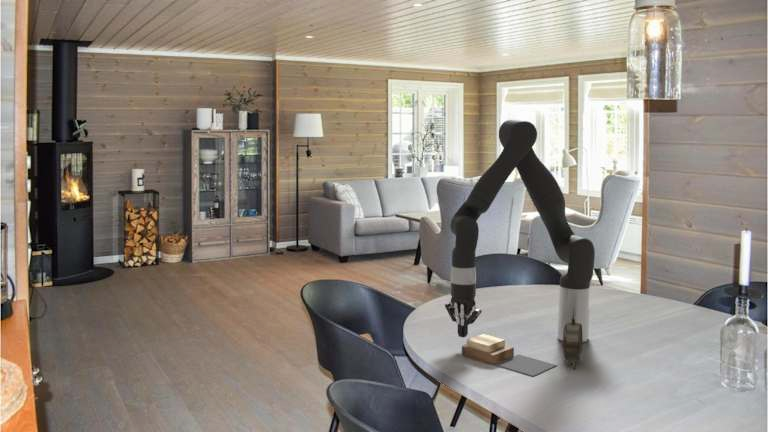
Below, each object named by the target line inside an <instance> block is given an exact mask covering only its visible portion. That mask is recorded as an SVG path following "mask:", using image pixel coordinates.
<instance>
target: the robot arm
mask: <svg viewBox="0 0 768 432" xmlns="http://www.w3.org/2000/svg"><path fill="white" fill-rule="evenodd" d="M537 138H538V131H537V128H536V126H535V125H534V124H533V123H532V122H531V121H527V120H523V119H516V118H515V119H513V118H512V119H508V120H506V121H503V122H502V123H501V125H500V126H499V130H498V140H499V143H500V145H501V146H502V147H503V149H502V151H501V153H500V154H499V156H498V157H497V158H496V160H495V161H494V162H493V163H492V165H491V166H489V168H488V169H487V170H485V171H484V173H483V174H482V175H481V176H480V177H479V179H478V180H477V181H476V183H475V185H474V186H473V188H472V190H471V191H470V193H469V195H468V197H467V198H466V200H465V202H463V203H462V205H461V206H460V207H459V208H458V209H457V211H456V212H455V214H454V215H453V217H451V220H450V225H449V226H450V231H451V233H452V234H453V235H454V236H455V246H454V247H453V248H452V252H451V271H450V296H451V298H450V302H448V303H445V304H444V307H445V310H446V311H447V313H448V315H449V317H450V319H451V320H452V322H453V323H454V322H455V323H456V325H457V336H458V337H460V338H466V337H467V336H468V334H469V333H468V332H469V327H468V326H469V325H472V324H474V323H475V321H477V318H479V316H480V315H481V313H482V311H483V310H482V309H481V308H479V309H478V307H477V306H476V300H475V299H476V298H475V297H476V296H477V295H476V294H477V292H476V290H477V289H476V287H477V272H476V271H477V270H476V250H477V246H478V241H479V231H480V230H479V224H478V222H477V221H478V219H479V218H480V217H481V216H482V215H483V214H485V213H486V212H487V211H488V210H489V209H490V207H491V206H492V204H493V202H494V200H495V198H497V195H498V193H499V192H500V190H501V189H502V187H503V186H504V185H505V183H506V181H507V180H508V178H509V177H510V176H511V174H512V173H513V171H514V170H515V169H516V170H517V173H518V174H519V177H520V178H521V181H522V183H523V185H524V187H525V188H526V191H527V193H528V195H529V197H530V199H531V202H532V203H533V205H534V207H535V209H536V211H537V212H538V215H539V217H540V219H541V221H542V223H543V225H544V226H545V228H546V231H547V232H548V235H549V238H550V240H551V243H552V246H553V248H554V251H555V253H556V255H557V257H558V258H559V259H560V261H561V262H563V263H566V264H567V272H566V274H563V275H561V276H560V277H559V289H558V290H559V292H558V319H557V321H558V322H557V339H558V340H560V341H562V342H563V333H564V327H565V325H566V324H567V323H572V318H573V309H574V319H575V323H581V325H582V338H583V339H582V340H583V343H585V342H587V341H588V339H589V331H590V330H589V328H590V289H591V288H590V285H591V281H592V280H593V276H594V266H595V258H596V257H595V256H596V255H595V247H594V243H593V242H592V240H590V239H589V238H587V237H583V236H580V235H576V234H575V233H574V231H573V229H572V228H571V226H570V224H569V223H568V222H569V221H568V220H567V218H566V217H567V216H566V200H565V196H564V193H563V191H562V189H561V187H560V185H559V183H558V181H557V180H556V179H557V178H555V176H554V175H553V174H552V173H551V171H550V170H549V169H548V167H547V166H546V165H545V164H544V163H543V162H542V160H540V159H539V156H538V155H537V154H536V152H535V151H534V148H533V146H534V145H535V144H536V142H537Z"/></svg>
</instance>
